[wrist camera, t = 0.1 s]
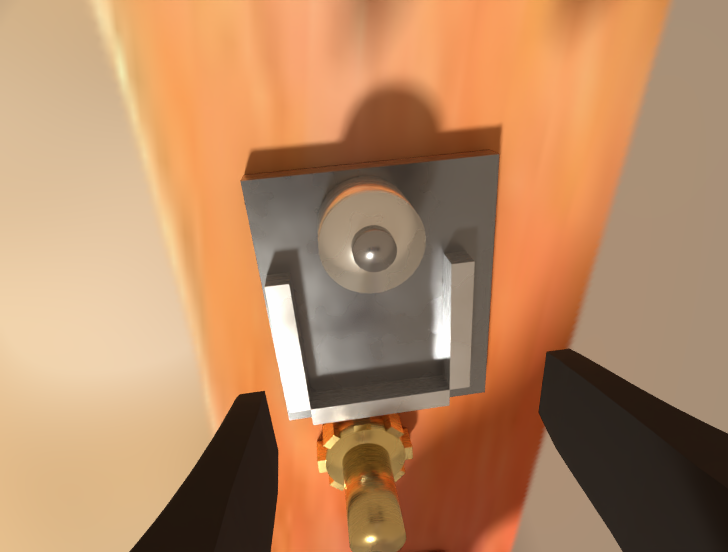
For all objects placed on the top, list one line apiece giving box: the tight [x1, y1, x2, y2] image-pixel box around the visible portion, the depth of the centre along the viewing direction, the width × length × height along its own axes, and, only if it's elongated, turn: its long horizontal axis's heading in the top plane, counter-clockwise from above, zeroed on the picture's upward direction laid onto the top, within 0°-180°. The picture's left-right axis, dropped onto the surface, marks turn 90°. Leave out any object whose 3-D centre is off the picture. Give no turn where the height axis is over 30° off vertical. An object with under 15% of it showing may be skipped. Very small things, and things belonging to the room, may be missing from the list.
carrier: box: [241, 150, 499, 425], centre depth 19 cm, size 12×10×4 cm
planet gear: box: [317, 413, 413, 552], centre depth 23 cm, size 5×5×6 cm
